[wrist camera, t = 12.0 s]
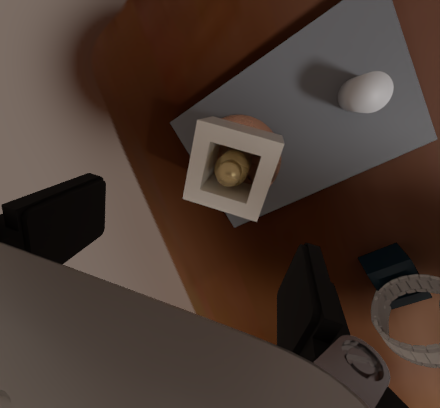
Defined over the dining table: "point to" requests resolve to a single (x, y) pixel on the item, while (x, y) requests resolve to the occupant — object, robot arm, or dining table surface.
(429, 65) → the dining table surface
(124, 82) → the dining table surface
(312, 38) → the board
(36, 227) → the robot arm
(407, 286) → the watch
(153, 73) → the dining table surface
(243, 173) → the hub
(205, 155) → the square hollow frame
